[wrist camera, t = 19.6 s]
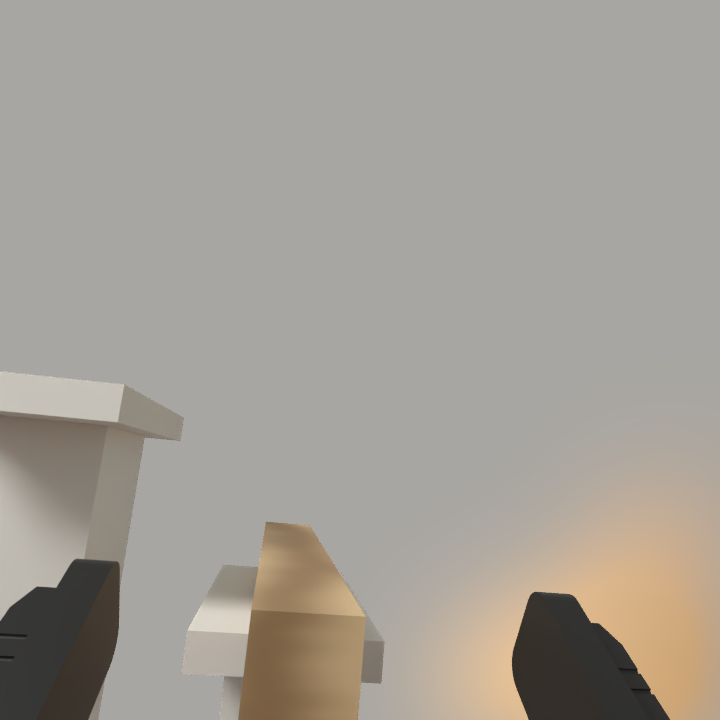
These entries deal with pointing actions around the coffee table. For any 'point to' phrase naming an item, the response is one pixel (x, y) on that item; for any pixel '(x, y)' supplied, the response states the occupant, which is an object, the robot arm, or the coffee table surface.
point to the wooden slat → (301, 634)
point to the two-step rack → (107, 511)
